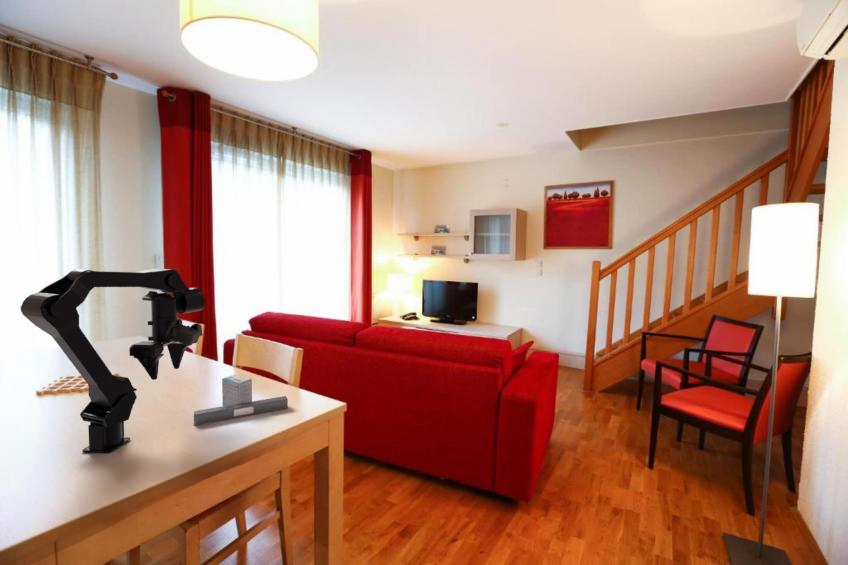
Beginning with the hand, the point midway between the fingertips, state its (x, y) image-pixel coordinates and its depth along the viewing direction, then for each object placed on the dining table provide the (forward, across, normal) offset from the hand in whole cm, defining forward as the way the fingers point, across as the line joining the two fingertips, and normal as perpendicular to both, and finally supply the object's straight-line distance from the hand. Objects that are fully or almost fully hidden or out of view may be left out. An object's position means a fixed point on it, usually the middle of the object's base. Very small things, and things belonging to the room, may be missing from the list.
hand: (166, 373), depth 105 cm
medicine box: (+13, +11, -14) cm, 22 cm away
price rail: (+13, +5, -18) cm, 23 cm away
